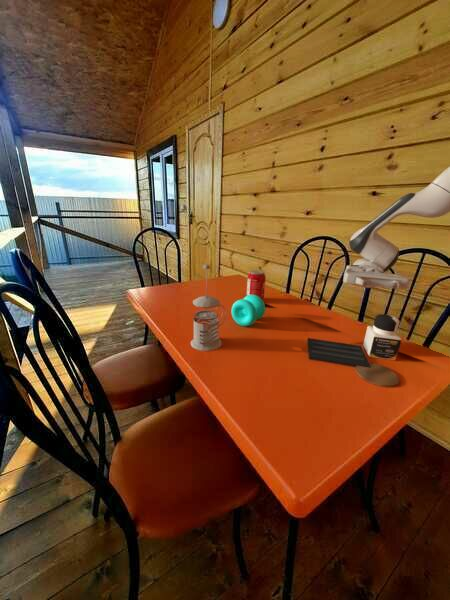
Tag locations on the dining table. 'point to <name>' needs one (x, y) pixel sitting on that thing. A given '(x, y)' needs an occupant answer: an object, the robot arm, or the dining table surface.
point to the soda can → (256, 283)
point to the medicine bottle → (383, 338)
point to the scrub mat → (337, 353)
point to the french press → (206, 338)
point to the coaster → (378, 375)
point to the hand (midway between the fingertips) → (380, 285)
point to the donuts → (248, 310)
